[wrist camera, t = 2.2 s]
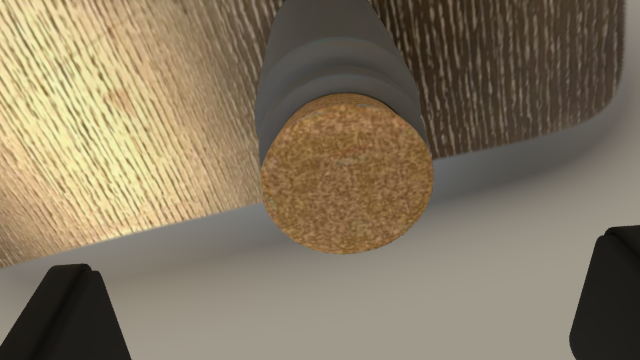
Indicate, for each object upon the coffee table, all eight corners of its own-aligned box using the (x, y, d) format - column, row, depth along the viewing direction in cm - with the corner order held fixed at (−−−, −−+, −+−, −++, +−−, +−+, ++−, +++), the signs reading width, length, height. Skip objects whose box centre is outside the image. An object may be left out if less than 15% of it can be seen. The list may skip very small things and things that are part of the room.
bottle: (267, 87, 28) (236, 265, 15) (273, -26, 25) (241, 72, 12) (372, 97, 28) (431, 277, 15) (390, -13, 25) (482, 94, 12)
